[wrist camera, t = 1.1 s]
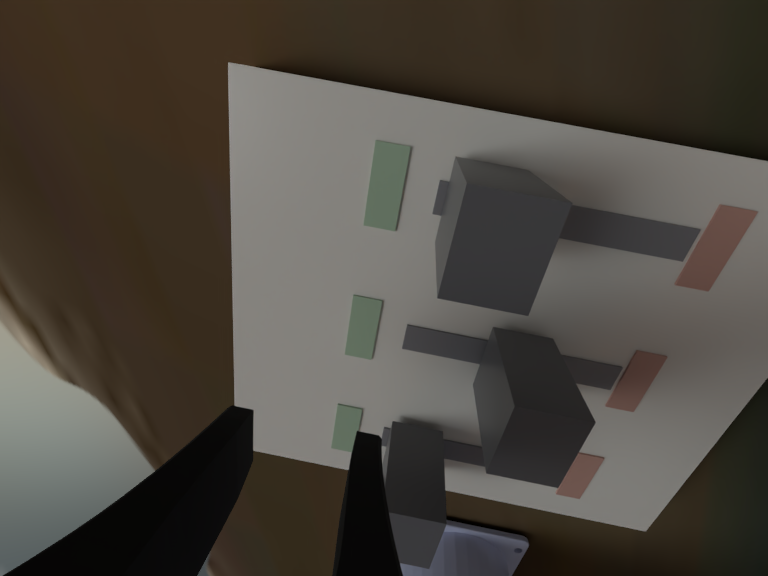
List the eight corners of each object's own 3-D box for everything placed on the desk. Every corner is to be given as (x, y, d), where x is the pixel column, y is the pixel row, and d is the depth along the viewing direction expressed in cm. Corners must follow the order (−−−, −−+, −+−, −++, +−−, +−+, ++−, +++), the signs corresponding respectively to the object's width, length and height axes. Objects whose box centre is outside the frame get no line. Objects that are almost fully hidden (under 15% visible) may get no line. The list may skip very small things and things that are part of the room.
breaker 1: (429, 473, 19) (429, 569, 15) (382, 463, 19) (370, 556, 15) (442, 431, 18) (446, 524, 14) (392, 420, 18) (382, 510, 14)
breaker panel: (627, 496, 22) (646, 533, 20) (251, 418, 22) (234, 448, 21) (854, 177, 14) (921, 189, 12) (253, 66, 14) (226, 62, 12)
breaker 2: (500, 254, 14) (528, 316, 10) (435, 241, 14) (437, 298, 10) (528, 169, 13) (572, 203, 9) (455, 156, 13) (467, 183, 9)
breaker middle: (527, 395, 17) (558, 488, 13) (472, 384, 17) (486, 473, 13) (553, 338, 15) (595, 422, 11) (492, 326, 15) (514, 406, 11)
